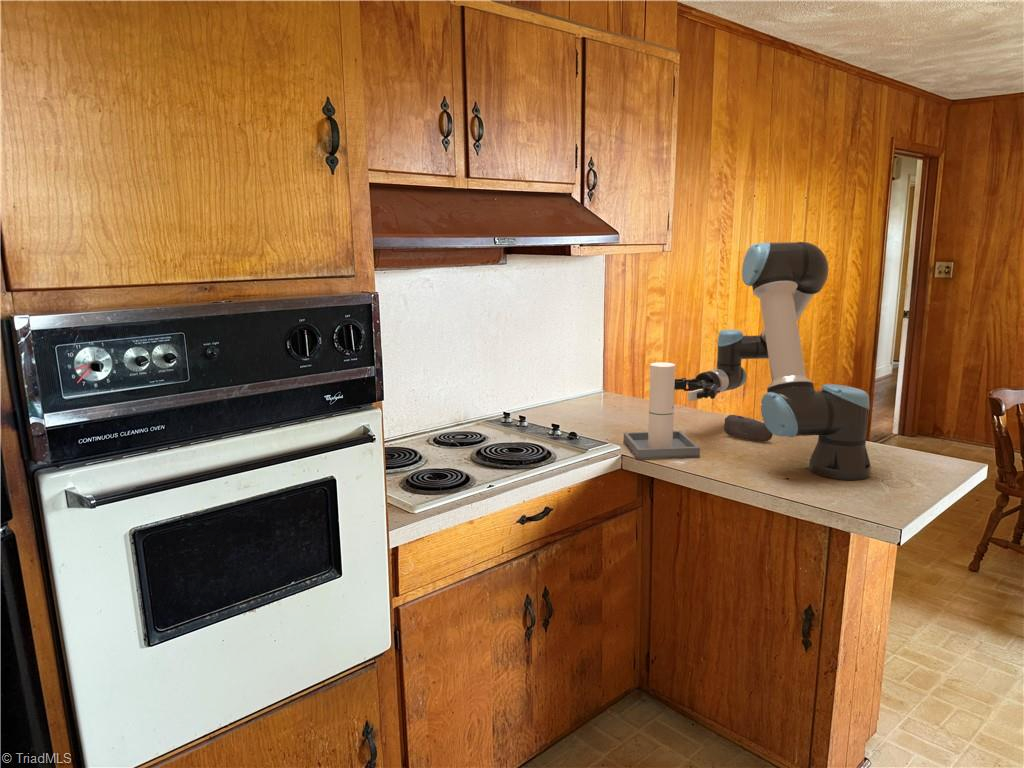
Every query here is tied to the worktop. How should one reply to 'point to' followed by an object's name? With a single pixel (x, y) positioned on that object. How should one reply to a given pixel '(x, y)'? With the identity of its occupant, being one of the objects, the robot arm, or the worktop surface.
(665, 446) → the cylindrical container
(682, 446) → the slate tray
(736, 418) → the perforated stone tool
